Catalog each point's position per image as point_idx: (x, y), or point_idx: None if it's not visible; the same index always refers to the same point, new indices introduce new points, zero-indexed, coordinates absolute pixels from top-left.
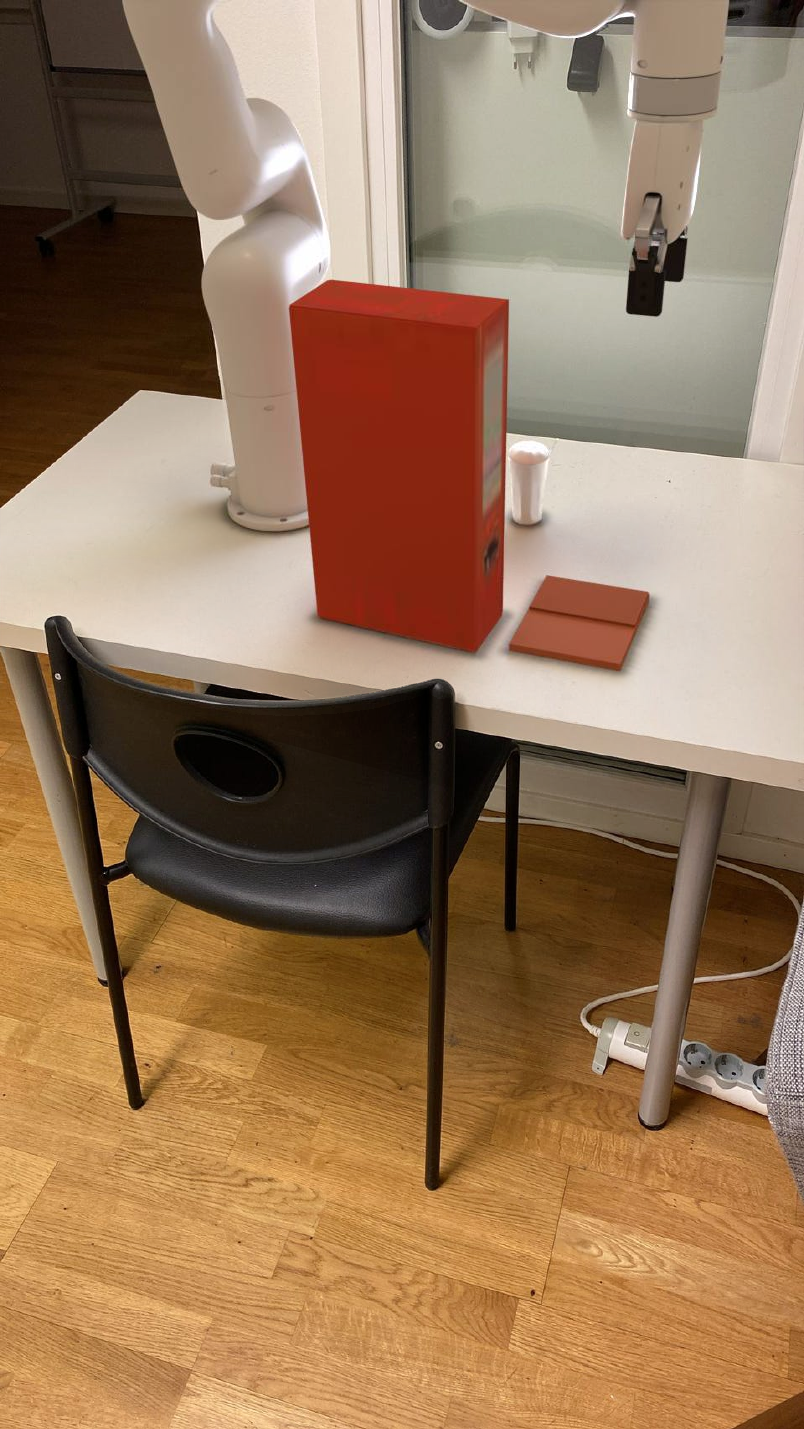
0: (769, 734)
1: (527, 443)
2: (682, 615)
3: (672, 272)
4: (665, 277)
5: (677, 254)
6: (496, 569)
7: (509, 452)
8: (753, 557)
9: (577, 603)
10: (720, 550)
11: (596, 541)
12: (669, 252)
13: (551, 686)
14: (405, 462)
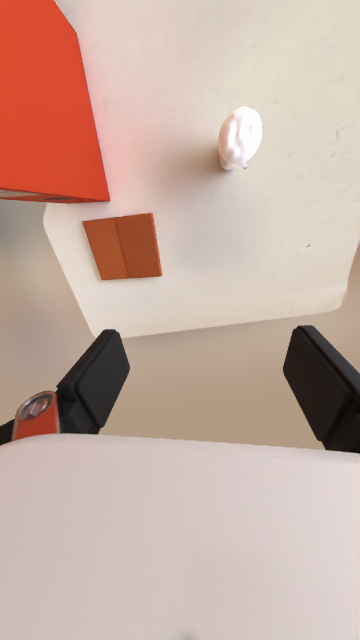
0: None
1: (250, 127)
2: (157, 292)
3: (291, 370)
4: (289, 354)
5: (308, 406)
6: (79, 199)
7: (233, 111)
8: (220, 310)
9: (132, 244)
10: (223, 295)
11: (212, 225)
12: (313, 397)
13: (75, 254)
14: None
